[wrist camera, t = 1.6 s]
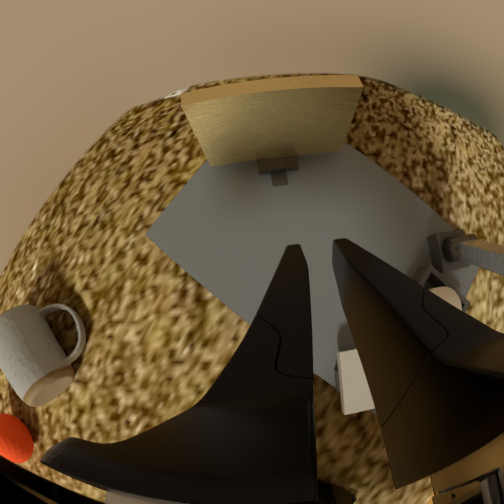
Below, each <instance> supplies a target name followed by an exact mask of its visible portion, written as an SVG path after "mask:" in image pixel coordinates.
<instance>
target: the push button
mask: <svg viewBox="0 0 504 504" xmlns="http://www.w3.org/2000/svg"><path fill="white" fill-rule="evenodd" d="M428 290H430V291H431V292H433V293H434V294H436V295H437V296H439V297H440V298H442V299H444V300H445V301H447V302H448V303H450V304H452V305H453V306H455V307H457V308H458V309H460V310H461V311H462V306H461V301H460V298H459V296H458V295H457V293H456V292H455V291H454V290H453V289H451V288H449V287H437V288H430V289H428Z"/></svg>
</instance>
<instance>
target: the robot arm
mask: <svg viewBox="0 0 504 504" xmlns="http://www.w3.org/2000/svg"><path fill="white" fill-rule="evenodd" d="M332 266H333V271H334V275H335V279H336V283H337V287H338V291H339V296H340V300H341V304H342V308H343V311H344V314H345V317H346V320H347V322H348V325H349V328H350V331H351V334H352V337H353V340H354V343H355V346H356V348H357V351H358V355H359V358H360V361H361V364H362V367H363V370H364V373H365V376H366V379H367V383H368V386H369V389H370V393H371V396H372V399H373V403H374V406H375V410H376V413H377V417H378V420H379V424H380V427H381V432H382V436H383V440H384V444H385V448H386V452H387V456H388V460H389V464H390V469H391V473H392V478H393V482H394V486H395V489H398V488H401V487H404V486H407V485H409V484H412V483H415V482H417V481H420V480H422V479H425V478H427V477H429V476H430V477H431V482H432V486H433V491H434V496H433V498H432V500H433V504H504V334H503V333H500V332H498V331H496V330H494V329H492V328H490V327H489V326H487V325H485V324H484V323H482V322H480V321H479V320H477V319H475V318H474V317H472V316H470V315H468V314H467V313H465V312H463V311H461V310H460V309H458V308H457V307H455V306H453V305H452V304H450V303H448V302H447V301H445V300H444V299H442V298H440V297H439V296H437V295H436V294H434V293H433V292H431V291H430V290H428V289H427V288H424V287H423V286H422V285H421V284H419V283H418V282H416V281H415V280H413V279H412V278H410V277H408V276H407V275H405V274H404V273H402V272H401V271H399V270H398V269H396V268H394V267H393V266H391V265H390V264H388V263H386V262H385V261H383V260H382V259H380V258H378V257H377V256H375V255H374V254H372V253H370V252H369V251H367V250H365V249H364V248H362V247H360V246H359V245H357V244H355V243H354V242H352V241H350V240H349V239H347V238H340V239H334V240H333V244H332ZM423 288H424V289H423ZM40 461H41V463H43V464H45V465H46V466H48V467H50V468H52V469H54V470H56V471H58V472H61V473H63V474H65V475H67V476H69V477H72V478H74V479H76V480H79V481H81V482H84V483H86V484H89V485H91V486H94V487H97V488H100V489H103V490H105V491H106V496H105V503H104V502H101V501H98V500H95V499H93V498H90V497H87V496H85V495H82V494H80V493H77V492H75V491H72V490H70V489H68V488H65V487H63V486H61V485H58V484H56V483H54V482H52V481H50V480H47V479H45V478H43V477H41V476H39V475H37V474H35V473H33V472H31V471H29V470H27V469H25V468H23V467H21V466H19V465H17V464H15V463H14V462H12V461H10V460H8V459H7V458H5V457H3V456H2V455H0V504H353V503H354V502H355V501H356V496H355V495H352V494H350V493H349V491H347V490H345V489H343V488H341V487H338V486H336V485H334V484H332V483H326V482H324V481H322V480H320V479H318V478H317V450H316V429H315V412H314V383H313V340H312V316H311V298H310V282H309V269H308V264H307V261H306V258H305V256H304V253H303V250H302V248H301V245H300V244H293V245H287V246H286V248H285V251H284V253H283V255H282V257H281V260H280V262H279V264H278V266H277V269H276V271H275V273H274V275H273V278H272V280H271V282H270V284H269V286H268V289H267V291H266V293H265V295H264V297H263V300H262V302H261V304H260V306H259V308H258V310H257V313H256V315H255V317H254V319H253V321H252V323H251V325H250V327H249V329H248V331H247V333H246V335H245V337H244V339H243V340H242V342H241V343H240V345H239V347H238V348H237V350H236V351H235V353H234V354H233V356H232V357H231V359H230V360H229V362H228V363H227V365H226V366H225V367H224V369H223V370H222V372H221V373H220V375H219V376H218V377H217V379H216V380H215V382H214V383H213V385H212V386H211V387H210V389H209V390H208V391H207V393H206V394H205V395H204V396H203V397H202V399H201V400H199V401H198V402H197V403H196V404H195V405H194V406H192V407H191V408H189V409H188V410H186V411H184V412H182V413H180V414H178V415H177V416H175V417H173V418H171V419H169V420H167V421H165V422H163V423H161V424H159V425H157V426H155V427H153V428H151V429H149V430H147V431H145V432H143V433H140V434H138V435H136V436H134V437H132V438H129V439H126V440H124V441H120V442H115V443H106V444H101V443H94V442H90V441H86V440H83V439H79V438H74V437H70V438H67V439H65V440H63V441H61V442H59V443H57V444H56V445H54V446H52V447H51V448H50V449H49V450H47V452H46V453H45V454H44V455H43V457H42V458H41V460H40Z"/></svg>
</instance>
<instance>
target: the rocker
mask: <svg viewBox="0 0 504 504" xmlns="http://www.w3.org/2000/svg"><path fill="white" fill-rule="evenodd" d="M336 354H337V363H338V373H339V383H340V395H341V408H342V413H343V414H344V415H348V414H353V413H357V412H362V411H366V410H370V409H374V408H375V406H374V403H373V399H372V396H371V393H370V389H369V386H368V383H367V379H366V376H365V373H364V370H363V367H362V364H361V361H360V358H359V355H358V351H357V348H355V349H350V350H345V351H339V352H336Z"/></svg>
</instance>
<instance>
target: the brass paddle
mask: <svg viewBox="0 0 504 504" xmlns="http://www.w3.org/2000/svg"><path fill="white" fill-rule="evenodd" d="M363 88H364V87H363V85H362V83H361V81H360V79H359V77H358V76H356V75H316V76H295V77H281V78H271V79H261V80H253V81H246V82H239V83H232V84H226V85H221V86H215V87H210V88H205V89H200V90H195V91H191V92H187V93H182V99H181V107H182V109H183V111H184V113H185V115H186V117H187V119H188V121H189V123H190V125H191V127H192V129H193V131H194V133H195V135H196V137H197V139H198V141H199V143H200V145H201V148H202V150H203V152H204V154H205V156H206V158H207V160H208V162H209V164H210V166H211V167H213V166H219V165H225V164H232V163H238V162H245V161H252V160H257V165H258V172H259V175H262V174H270V173H278V172H286V171H295V170H298V168H299V165H298V161H297V156H296V155H303V154H314V153H327V152H341V149H342V146H343V144H344V141H345V138H346V136H347V133H348V130H349V127H350V125H351V122H352V119H353V116H354V114H355V111H356V108H357V105H358V102H359V99H360V97H361V94H362V91H363Z"/></svg>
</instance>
